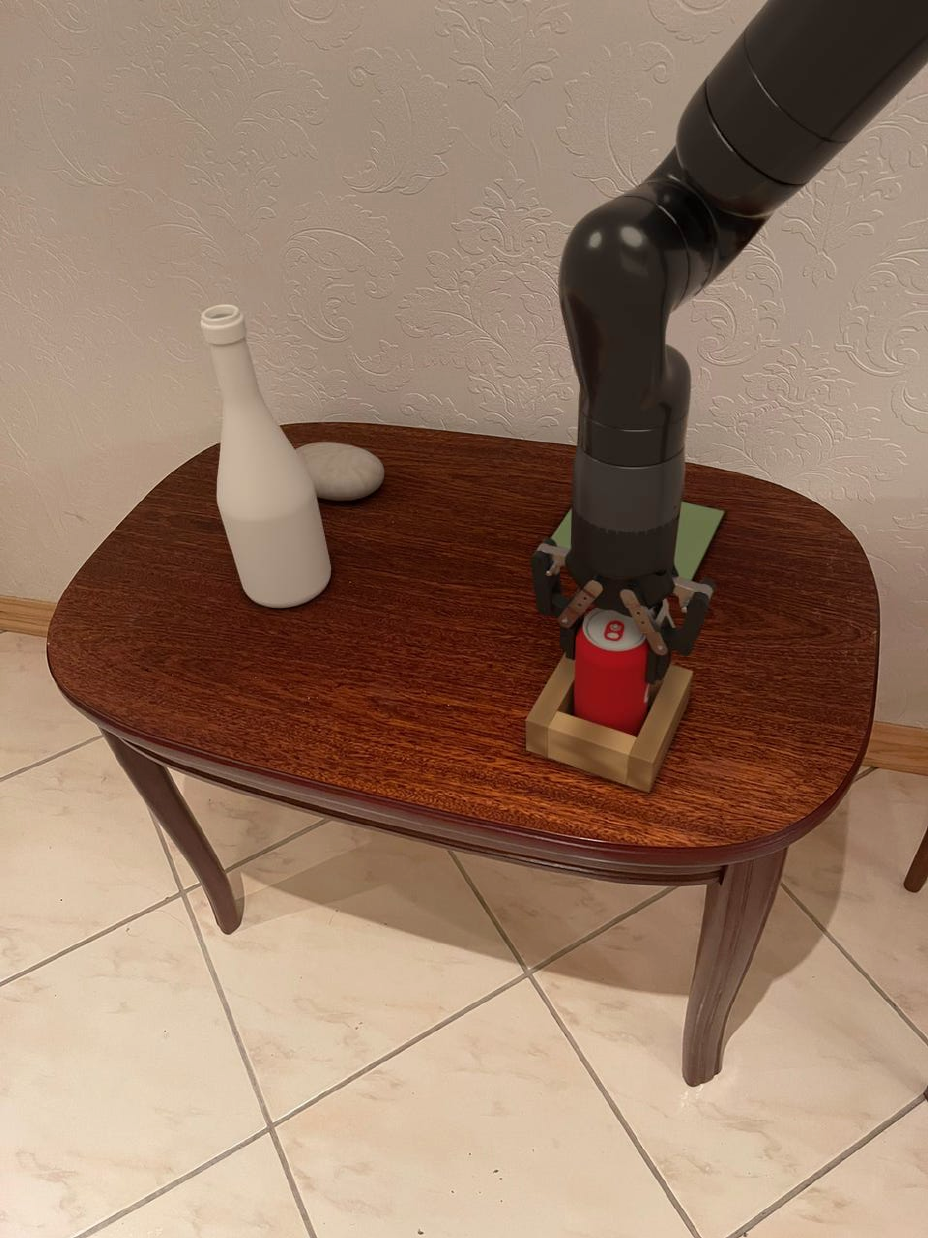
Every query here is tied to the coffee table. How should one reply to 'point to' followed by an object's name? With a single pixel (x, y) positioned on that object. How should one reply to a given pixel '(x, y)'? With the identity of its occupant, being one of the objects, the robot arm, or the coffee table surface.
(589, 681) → the beverage can
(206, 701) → the coffee table surface
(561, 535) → the pad
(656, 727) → the stand
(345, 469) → the decorative stone
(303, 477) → the wine bottle
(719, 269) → the robot arm
